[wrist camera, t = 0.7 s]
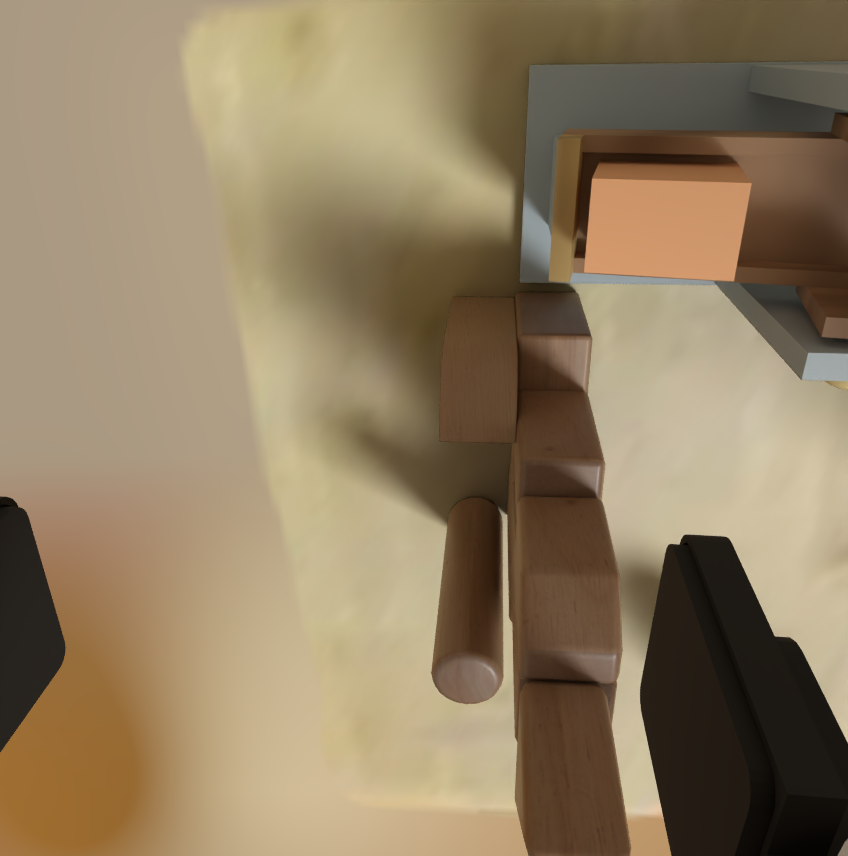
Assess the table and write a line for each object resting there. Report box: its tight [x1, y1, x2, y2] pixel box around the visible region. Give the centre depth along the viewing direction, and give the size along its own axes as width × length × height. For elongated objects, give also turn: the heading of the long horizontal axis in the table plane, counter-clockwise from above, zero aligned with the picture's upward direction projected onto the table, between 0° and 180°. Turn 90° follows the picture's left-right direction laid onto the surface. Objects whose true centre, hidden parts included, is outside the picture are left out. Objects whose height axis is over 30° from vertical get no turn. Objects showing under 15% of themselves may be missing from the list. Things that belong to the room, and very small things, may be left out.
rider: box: [584, 160, 752, 281], centre depth 27 cm, size 5×3×4 cm, turn 91°
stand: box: [519, 61, 848, 390], centre depth 29 cm, size 23×11×12 cm, turn 91°
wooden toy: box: [431, 292, 631, 856], centre depth 30 cm, size 16×7×25 cm, turn 1°
